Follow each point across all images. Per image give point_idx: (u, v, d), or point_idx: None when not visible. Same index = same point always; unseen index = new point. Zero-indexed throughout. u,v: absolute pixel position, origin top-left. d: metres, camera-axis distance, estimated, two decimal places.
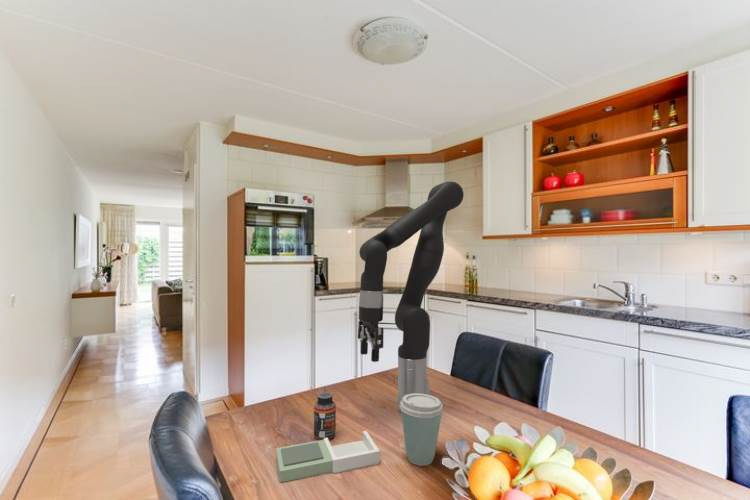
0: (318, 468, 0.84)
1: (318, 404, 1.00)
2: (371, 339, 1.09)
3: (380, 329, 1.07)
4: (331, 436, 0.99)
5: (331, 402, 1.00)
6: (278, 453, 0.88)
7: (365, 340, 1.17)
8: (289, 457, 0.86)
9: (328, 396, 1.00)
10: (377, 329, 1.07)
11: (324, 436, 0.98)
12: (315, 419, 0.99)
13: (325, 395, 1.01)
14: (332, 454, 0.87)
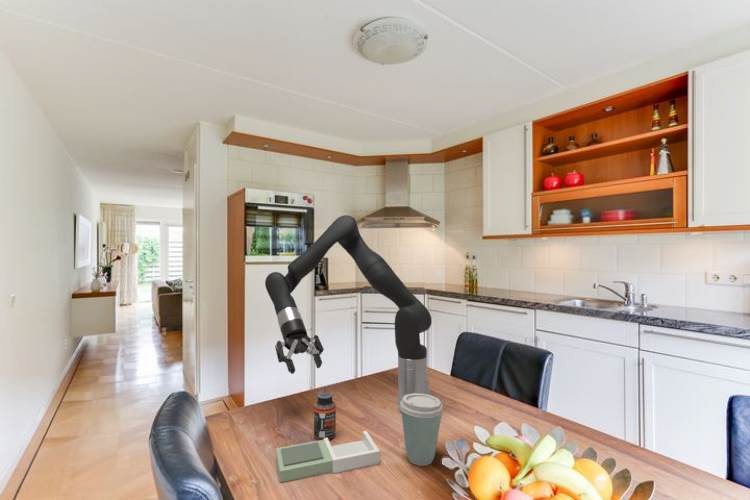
0: (318, 468, 0.84)
1: (318, 404, 1.00)
2: None
3: None
4: (331, 436, 0.99)
5: (331, 402, 1.00)
6: (278, 453, 0.88)
7: None
8: (289, 457, 0.86)
9: (328, 396, 1.00)
10: None
11: (324, 436, 0.98)
12: (315, 419, 0.99)
13: (325, 395, 1.01)
14: (332, 454, 0.87)
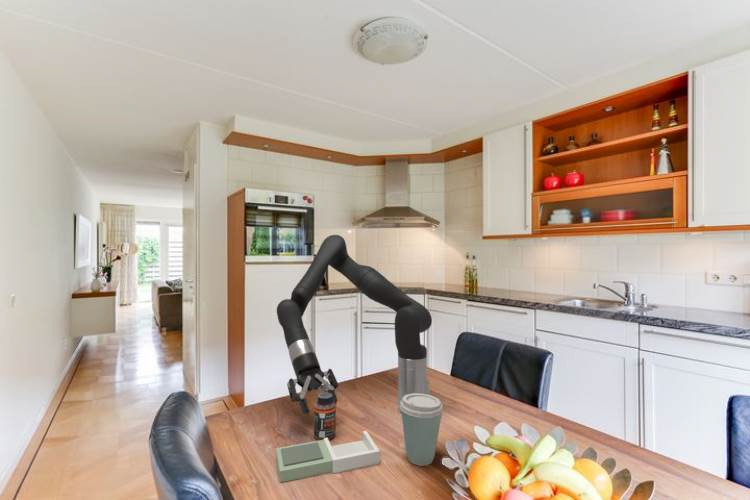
0: (318, 468, 0.84)
1: (318, 404, 1.00)
2: None
3: None
4: (331, 436, 0.99)
5: (331, 402, 1.00)
6: (278, 453, 0.88)
7: None
8: (289, 457, 0.86)
9: (328, 396, 1.00)
10: None
11: (324, 436, 0.98)
12: (315, 419, 0.99)
13: (325, 395, 1.01)
14: (332, 454, 0.87)
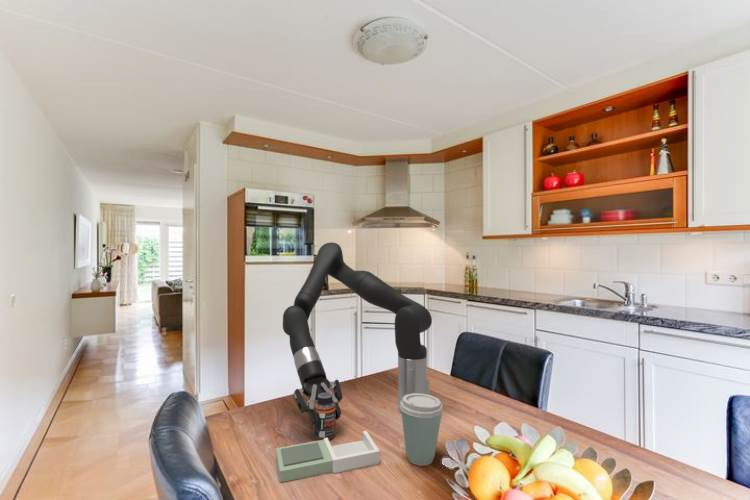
0: (318, 468, 0.84)
1: (318, 404, 1.00)
2: None
3: None
4: (331, 436, 0.99)
5: (331, 402, 1.00)
6: (278, 453, 0.88)
7: None
8: (289, 457, 0.86)
9: (328, 396, 1.00)
10: None
11: (324, 436, 0.98)
12: None
13: (325, 395, 1.01)
14: (332, 454, 0.87)
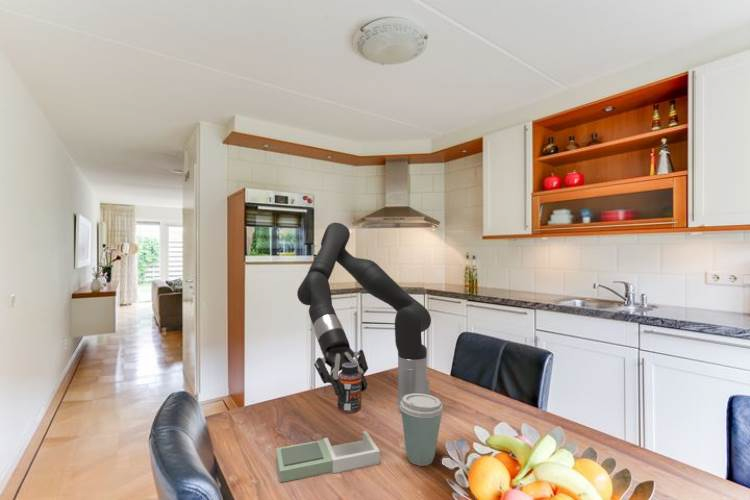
0: (318, 468, 0.84)
1: (343, 374, 0.90)
2: None
3: None
4: (357, 409, 0.90)
5: (357, 372, 0.91)
6: (278, 453, 0.88)
7: None
8: (289, 457, 0.86)
9: (353, 365, 0.91)
10: None
11: (350, 409, 0.89)
12: None
13: (350, 364, 0.92)
14: (332, 454, 0.87)
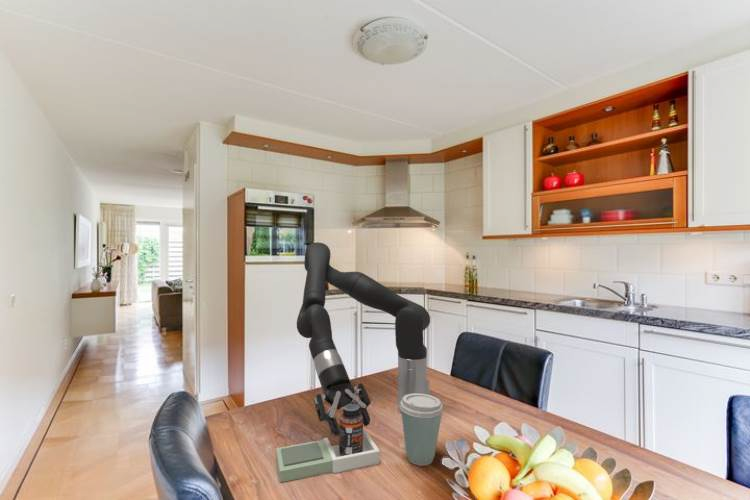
0: (318, 468, 0.84)
1: (344, 417, 0.90)
2: None
3: None
4: (359, 452, 0.90)
5: (358, 415, 0.91)
6: (278, 453, 0.88)
7: None
8: (289, 457, 0.86)
9: (355, 408, 0.91)
10: None
11: (351, 453, 0.89)
12: (341, 434, 0.90)
13: (352, 407, 0.92)
14: (332, 454, 0.87)
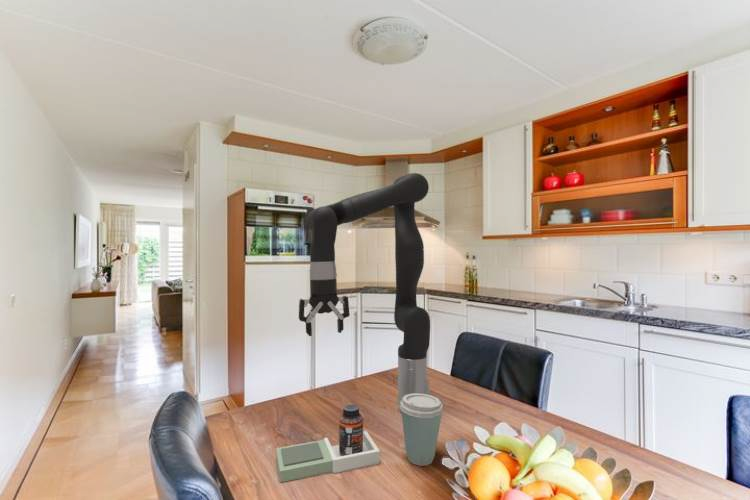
0: (318, 468, 0.84)
1: (344, 417, 0.90)
2: None
3: None
4: (359, 452, 0.90)
5: (358, 415, 0.91)
6: (278, 453, 0.88)
7: None
8: (289, 457, 0.86)
9: (355, 408, 0.91)
10: None
11: (351, 453, 0.89)
12: (341, 434, 0.90)
13: (351, 407, 0.92)
14: (332, 454, 0.87)
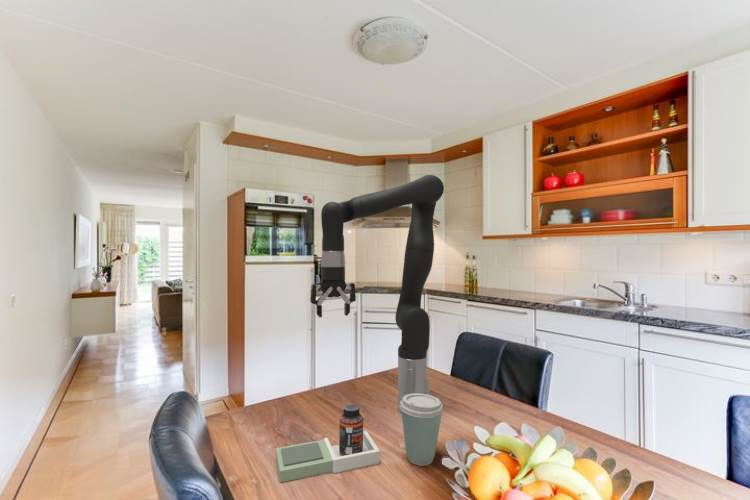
0: (318, 468, 0.84)
1: (344, 417, 0.90)
2: None
3: None
4: (359, 452, 0.90)
5: (358, 415, 0.91)
6: (278, 453, 0.88)
7: None
8: (289, 457, 0.86)
9: (355, 408, 0.91)
10: None
11: (351, 453, 0.89)
12: (341, 434, 0.90)
13: (352, 407, 0.92)
14: (332, 454, 0.87)
